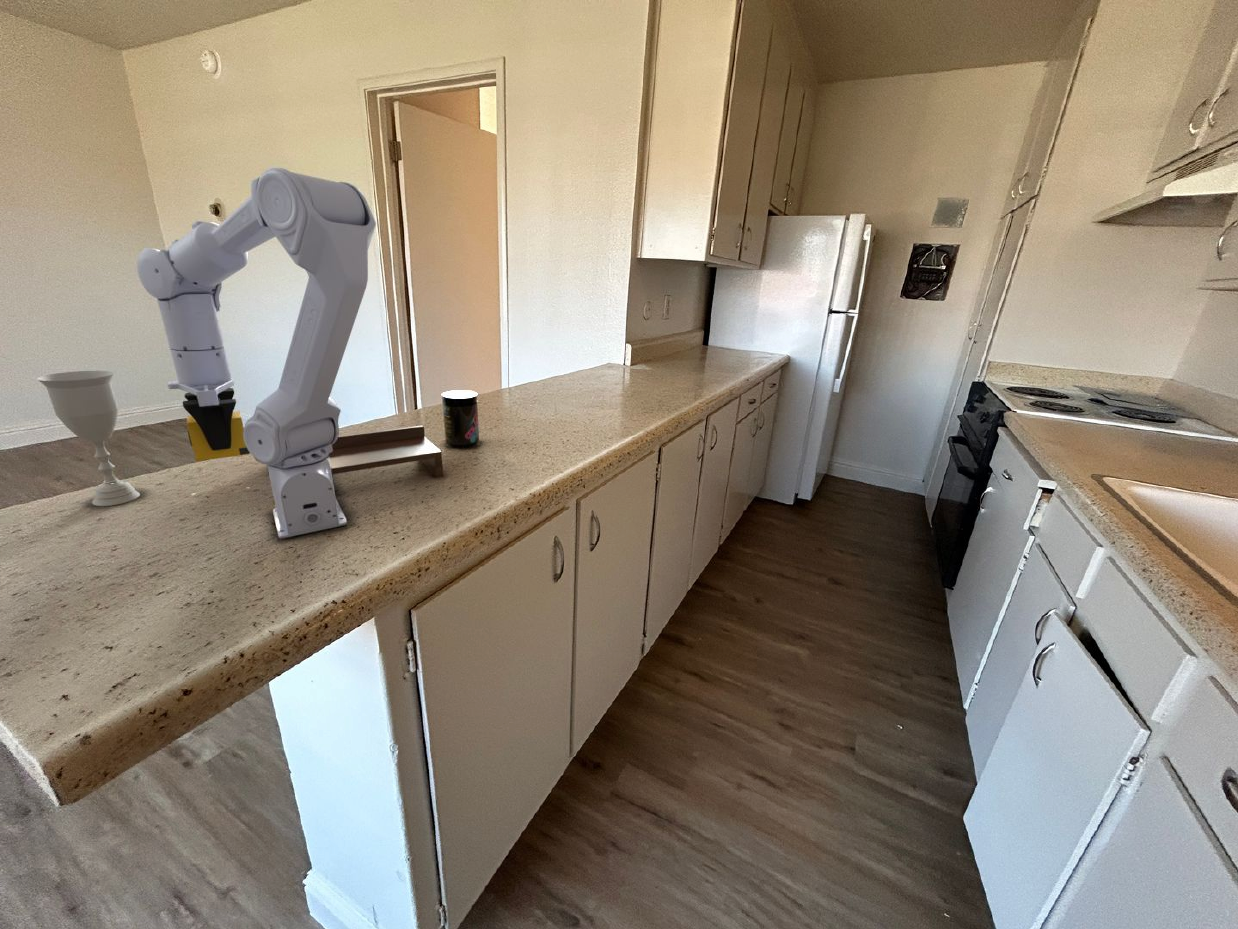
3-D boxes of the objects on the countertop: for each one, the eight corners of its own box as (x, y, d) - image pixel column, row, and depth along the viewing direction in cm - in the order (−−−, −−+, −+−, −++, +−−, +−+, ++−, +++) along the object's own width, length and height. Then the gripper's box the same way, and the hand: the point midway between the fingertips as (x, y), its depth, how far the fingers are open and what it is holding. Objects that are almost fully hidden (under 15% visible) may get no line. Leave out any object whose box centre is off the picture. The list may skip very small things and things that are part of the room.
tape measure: (252, 454, 74) (244, 417, 72) (194, 461, 70) (184, 423, 68) (250, 446, 77) (242, 410, 75) (195, 453, 73) (185, 416, 71)
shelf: (443, 475, 88) (440, 440, 86) (326, 497, 78) (319, 457, 76) (425, 458, 96) (422, 425, 93) (316, 476, 85) (310, 439, 83)
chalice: (106, 512, 70) (63, 382, 64) (67, 505, 71) (21, 378, 65) (161, 491, 77) (127, 373, 71) (125, 486, 78) (88, 369, 72)
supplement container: (462, 451, 100) (459, 399, 97) (438, 444, 103) (434, 394, 100) (486, 443, 106) (484, 393, 102) (463, 436, 109) (460, 388, 105)
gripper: (162, 342, 71) (186, 435, 76) (154, 357, 60) (183, 464, 65) (224, 340, 75) (244, 428, 80) (228, 354, 64) (250, 455, 69)
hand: (221, 444), depth 73 cm, fingers closed on tape measure, 4 cm apart
